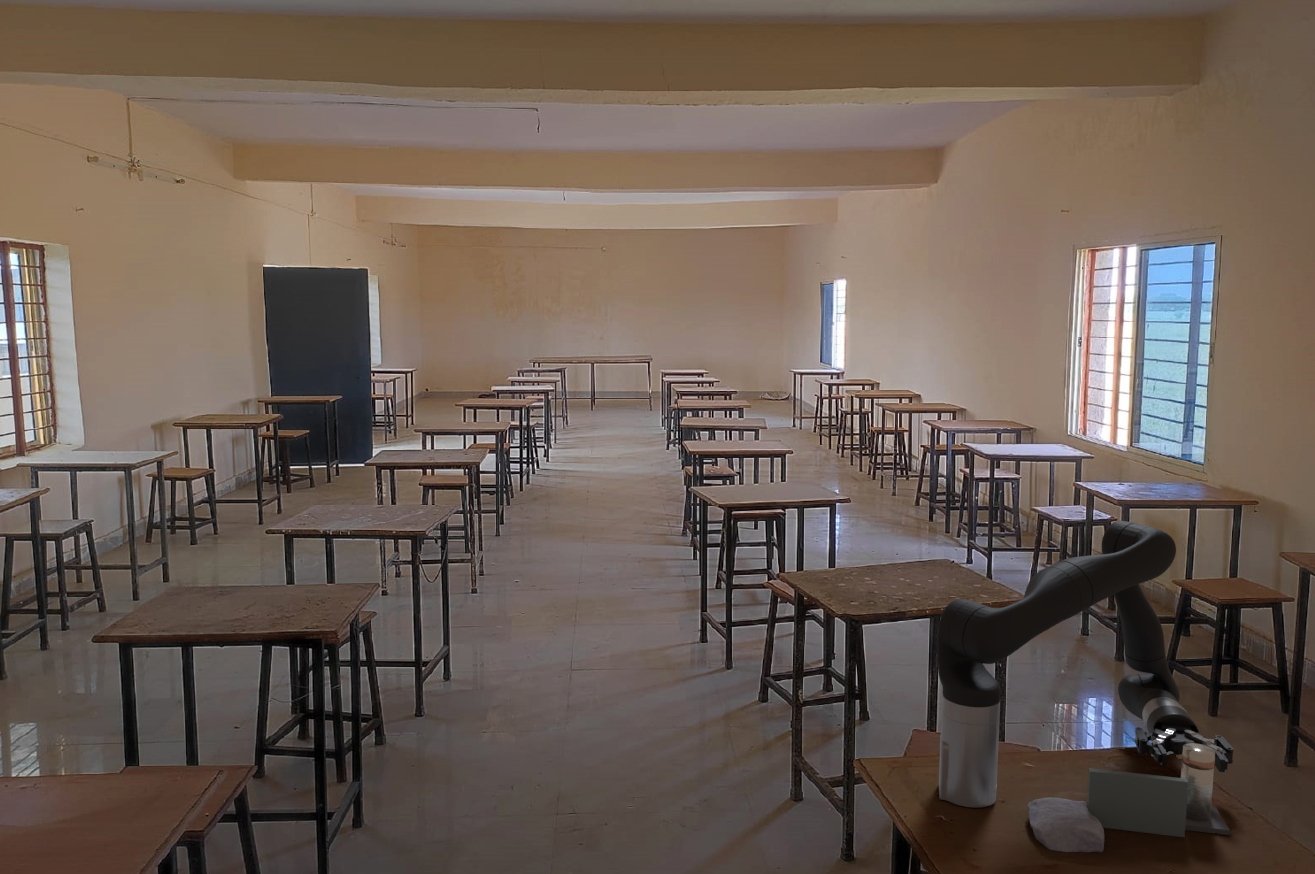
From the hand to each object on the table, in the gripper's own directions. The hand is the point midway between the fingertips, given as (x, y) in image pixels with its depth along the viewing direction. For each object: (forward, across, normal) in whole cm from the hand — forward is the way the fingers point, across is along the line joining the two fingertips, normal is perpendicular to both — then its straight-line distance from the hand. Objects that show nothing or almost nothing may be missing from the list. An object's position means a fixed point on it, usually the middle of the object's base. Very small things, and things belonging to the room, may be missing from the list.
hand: (1193, 763), depth 158 cm
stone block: (+12, -21, +9) cm, 26 cm away
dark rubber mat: (+3, 0, +8) cm, 9 cm away
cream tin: (+2, 0, +8) cm, 8 cm away
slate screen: (+9, -10, +8) cm, 16 cm away
